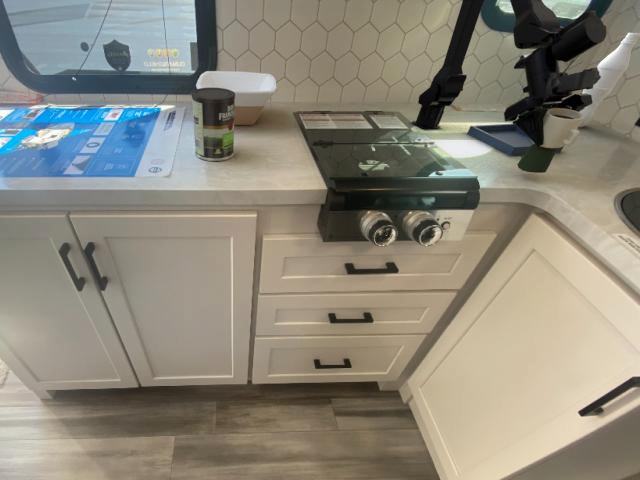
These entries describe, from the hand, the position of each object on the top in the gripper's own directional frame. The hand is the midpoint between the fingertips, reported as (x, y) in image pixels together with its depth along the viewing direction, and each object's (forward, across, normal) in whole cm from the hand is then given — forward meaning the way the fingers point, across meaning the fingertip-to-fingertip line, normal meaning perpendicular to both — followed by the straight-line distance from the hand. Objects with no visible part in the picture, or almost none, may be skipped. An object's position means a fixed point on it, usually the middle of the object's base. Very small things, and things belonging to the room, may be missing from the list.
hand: (552, 144), depth 79 cm
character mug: (+4, +1, +6) cm, 7 cm away
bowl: (-34, -59, +48) cm, 83 cm away
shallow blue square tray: (-9, +17, +22) cm, 29 cm away
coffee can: (-16, -72, +29) cm, 80 cm away
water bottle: (-15, +54, +28) cm, 63 cm away
